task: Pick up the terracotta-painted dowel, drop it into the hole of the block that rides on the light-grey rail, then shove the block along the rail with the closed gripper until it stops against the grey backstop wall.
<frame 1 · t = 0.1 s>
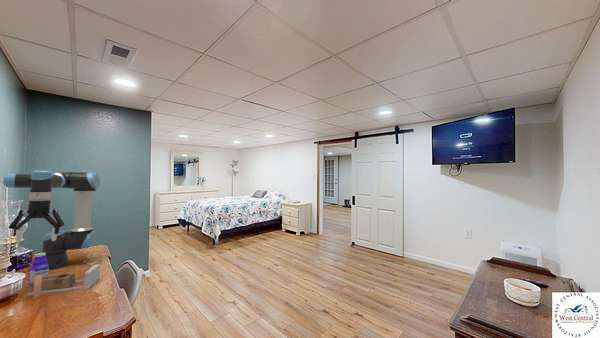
hand: (36, 241, 120), 28 cm above the table, fingers open, 13 cm apart
rail: (63, 289, 126), on the table
dowel: (36, 300, 115), on the table
bottle: (38, 285, 131), on the table
block: (54, 282, 125), point 4 cm above the table, slide at 0.0 cm
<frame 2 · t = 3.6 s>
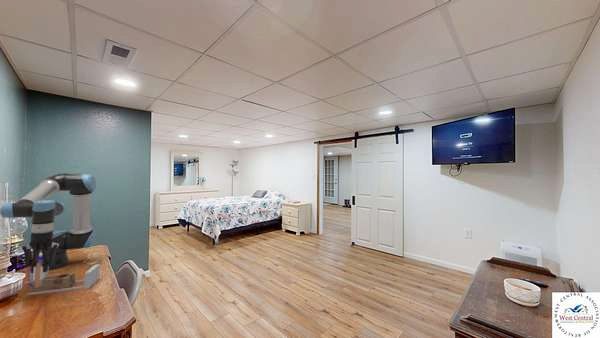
hand: (38, 278, 116), 10 cm above the table, fingers closed on dowel, 2 cm apart
dowel: (38, 286, 116), point 7 cm above the table, touching gripper
everything else where it was.
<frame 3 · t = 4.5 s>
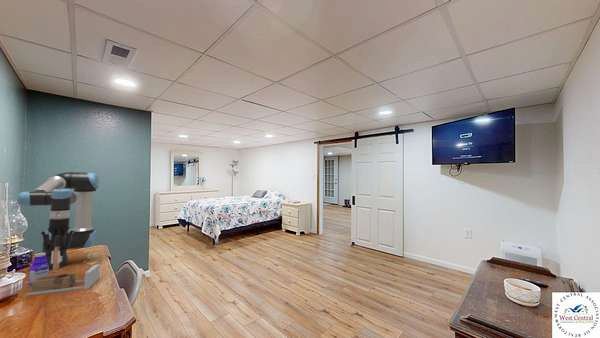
hand: (56, 262, 124), 16 cm above the table, fingers closed on dowel, 2 cm apart
dowel: (55, 269, 123), point 12 cm above the table, touching gripper
everything else where it was.
when the fingers open (9 cm above the table, at t = 6.3 s): dowel drops 3 cm, resting on block.
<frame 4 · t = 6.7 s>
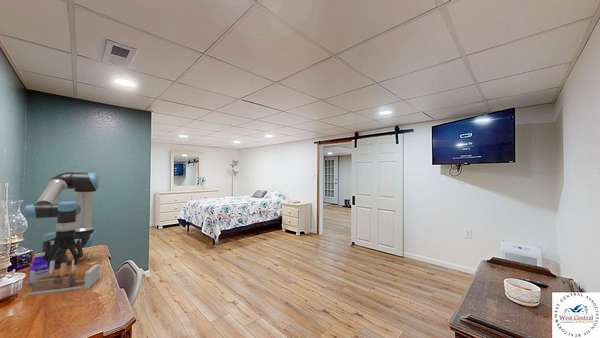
hand: (62, 271, 127), 10 cm above the table, fingers open, 8 cm apart
dowel: (61, 285, 126), point 2 cm above the table, touching block
block: (54, 282, 125), point 4 cm above the table, slide at 0.0 cm, touching dowel
everything else where it was.
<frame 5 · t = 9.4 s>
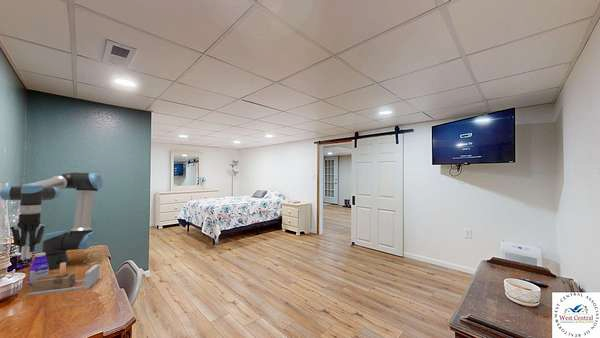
hand: (26, 258, 121), 18 cm above the table, fingers closed
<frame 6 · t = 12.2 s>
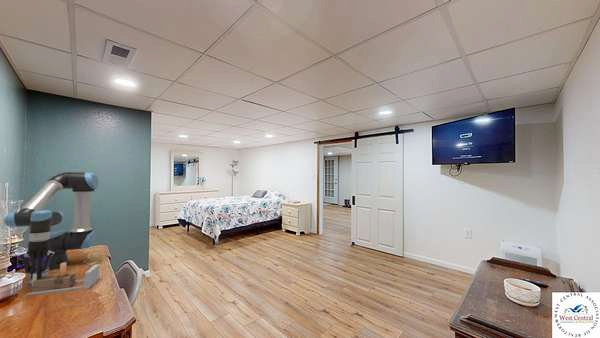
hand: (35, 285, 122), 4 cm above the table, fingers closed
block: (55, 282, 125), point 4 cm above the table, slide at 0.2 cm, touching dowel, gripper
everything else where it was.
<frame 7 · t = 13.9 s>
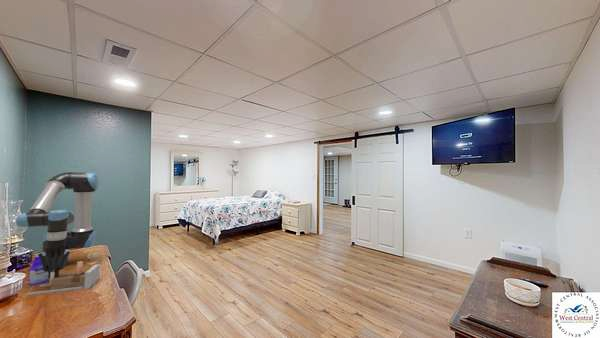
hand: (52, 283, 125), 4 cm above the table, fingers closed
dowel: (78, 283, 129), point 2 cm above the table, touching block
block: (71, 280, 128), point 4 cm above the table, slide at 7.1 cm, touching dowel, gripper
everything else where it was.
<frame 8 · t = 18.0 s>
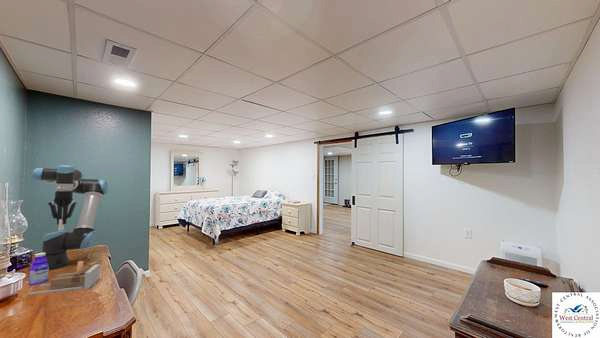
hand: (61, 229, 140), 29 cm above the table, fingers closed
block: (71, 280, 128), point 4 cm above the table, slide at 7.2 cm, touching dowel
everything else where it was.
at the end: block slide at 7.2 cm; dowel 0.3 cm from the target spot, point 2.3 cm above the table; dowel tilted 1° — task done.
